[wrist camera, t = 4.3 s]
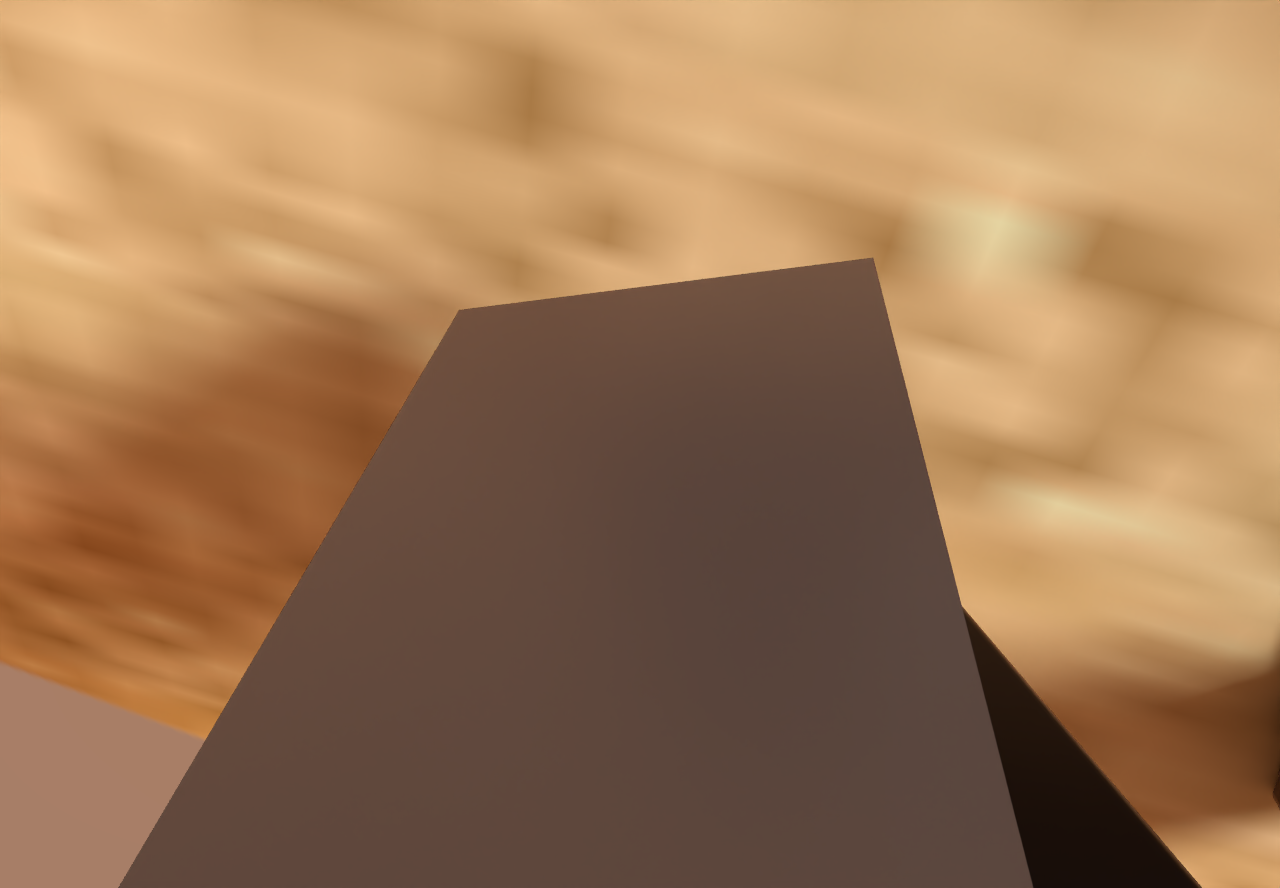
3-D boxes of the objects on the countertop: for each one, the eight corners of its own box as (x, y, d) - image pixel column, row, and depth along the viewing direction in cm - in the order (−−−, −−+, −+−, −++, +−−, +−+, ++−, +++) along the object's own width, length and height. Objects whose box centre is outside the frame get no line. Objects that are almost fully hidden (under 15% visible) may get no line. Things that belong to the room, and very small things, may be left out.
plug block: (872, 257, 8) (1050, 958, 3) (889, 688, 11) (988, 1343, 6) (458, 310, 9) (88, 934, 4) (590, 698, 12) (479, 1290, 7)
